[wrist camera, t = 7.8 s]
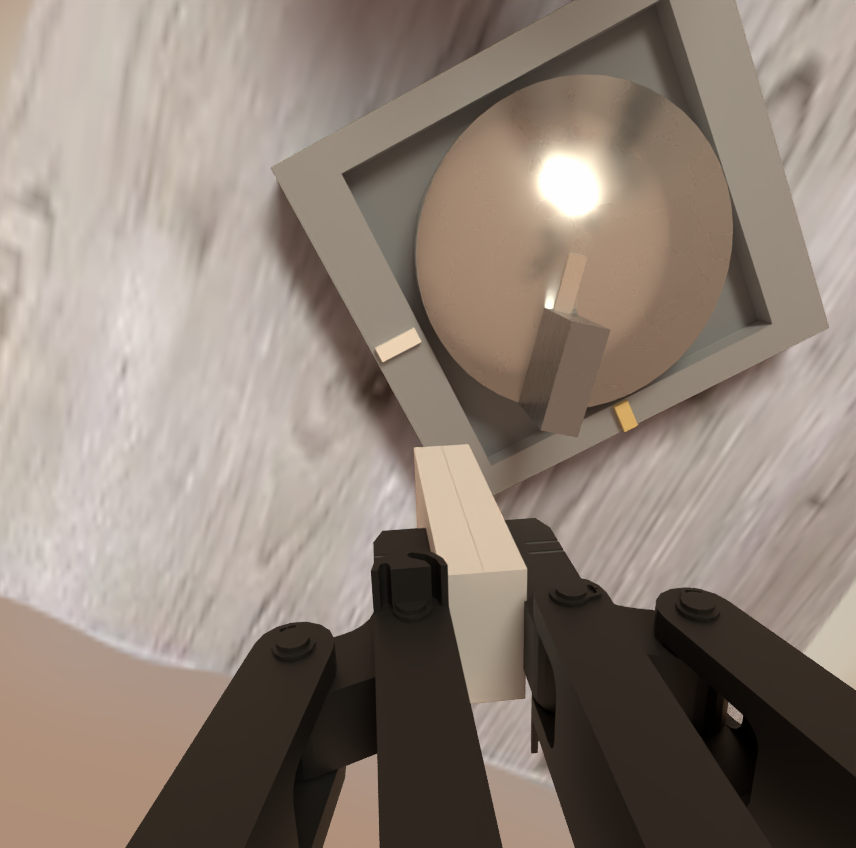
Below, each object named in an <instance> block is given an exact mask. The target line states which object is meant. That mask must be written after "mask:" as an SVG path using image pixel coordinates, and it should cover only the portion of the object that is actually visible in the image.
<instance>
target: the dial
mask: <svg viewBox="0 0 856 848" xmlns="http://www.w3.org/2000/svg"><path fill="white" fill-rule="evenodd" d="M732 238H733V219H732V207H731V200H730V196H729V191H728V186H727V182H726V179H725V176H724V174H723V171H722V168H721V165H720V162H719V161H718V159H717V157H716V155H715V153H714V151H713V149H712V147H711V145H710V143H709V142H708V140H707V139H706V138H705V136H704V135H703V133H702V132H701V131H700V129H699V128H698V126H697V125H696V124H695V123H694V122H693V121H692V120H691V119H690V118H689V117H688V116H687V115H686V114H685V113H684V112H683V111H682V110H681V109H680V108H678V107H677V106H676V105H675V104H673V103H672V102H671V101H669V100H668V99H667V98H665V97H664V96H662V95H660V94H658V93H656V92H655V91H653V90H651V89H649V88H647V87H645V86H642V85H640V84H637V83H634V82H631V81H629V80H626V79H621V78H616V77H611V76H606V75H588V74H581V75H571V76H561V77H557V78H553V79H549V80H545V81H541V82H538V83H535V84H533V85H530V86H528V87H525V88H523V89H521V90H518V91H516V92H514V93H513V94H511V95H509V96H508V97H506V98H504V99H502V100H501V101H499V102H497V103H496V104H495V105H493V106H492V107H491V108H490V109H488V110H487V111H486V112H484V113H483V114H482V115H481V116H479V117H478V118H477V119H476V120H475V121H474V122H473V123H472V124H471V125H470V126H469V127H468V128H467V129H466V130H465V131H464V132H463V133H462V134H461V135H460V136H459V137H458V138H457V139H456V140H455V141H454V143H453V144H452V145H451V147H450V148H449V149H448V151H447V152H446V153H445V155H444V156H443V157H442V159H441V161H440V162H439V164H438V166H437V168H436V169H435V171H434V173H433V175H432V176H431V179H430V181H429V183H428V186H427V188H426V191H425V193H424V196H423V198H422V202H421V206H420V209H419V213H418V217H417V222H416V229H415V236H414V267H415V276H416V282H417V287H418V291H419V295H420V299H421V302H422V304H423V307H424V310H425V312H426V315H427V317H428V319H429V321H430V323H431V325H432V327H433V329H434V330H435V332H436V334H437V336H438V337H439V339H440V341H441V342H442V344H443V345H444V347H445V348H446V349H447V351H448V352H449V353H450V355H451V356H452V357H453V359H454V360H455V361H456V362H457V363H458V364H459V365H460V366H461V367H462V368H463V369H464V370H465V371H466V372H467V373H468V374H469V375H470V376H472V377H473V378H474V379H476V380H477V381H478V382H479V383H481V384H482V385H483V386H485V387H487V388H489V389H490V390H492V391H494V392H495V393H497V394H499V395H501V396H504V397H506V398H508V399H511V400H513V401H516V402H519V403H518V404H519V405H520V406H521V407H522V408H523V410H524V411H525V412H526V413H527V415H528V416H529V417H530V418H531V419H532V421H533V422H534V423H535V424H536V426H537V427H538V428H539V429H540V430H541V431H546V432H551V433H556V434H561V435H567V436H572V437H577V438H578V435H579V432H580V429H581V425H582V422H583V419H584V416H585V412H586V409H587V407H592V406H596V405H600V404H604V403H608V402H611V401H614V400H616V399H619V398H621V397H624V396H626V395H629V394H631V393H633V392H634V391H636V390H638V389H640V388H642V387H644V386H646V385H647V384H649V383H650V382H651V381H653V380H654V379H656V378H657V377H659V376H660V375H661V374H663V373H664V372H665V371H666V370H667V369H669V368H670V367H671V366H672V365H673V364H674V363H675V362H676V361H678V360H679V359H680V357H681V356H682V355H683V354H684V353H685V352H686V351H687V350H688V349H689V347H690V346H691V345H692V344H693V343H694V341H695V340H696V338H697V337H698V336H699V334H700V333H701V331H702V330H703V329H704V327H705V325H706V323H707V322H708V320H709V318H710V316H711V314H712V313H713V311H714V309H715V307H716V304H717V302H718V299H719V297H720V295H721V292H722V290H723V287H724V283H725V280H726V276H727V273H728V269H729V263H730V257H731V251H732Z"/></svg>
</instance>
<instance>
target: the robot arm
mask: <svg viewBox="0 0 856 848" xmlns="http://www.w3.org/2000/svg"><path fill="white" fill-rule="evenodd" d="M414 466H415V489H416V512H417V528H415V529H402V530H388V531H382V532H381V533H380V535H379V536H378V537H377V539H376V540H375V541H374V542H373V544H374V564H373V567H372V570H371V579H372V594H373V608H374V612H373V614H372V616H371V617H370V619H369V620H368V621H367V622H366V623H365V624H363V625H362V626H360V627H359V628H357V629H355V630H354V631H351V632H348V633H346V634H343V635H340V636H337V637H333V636H332V634H331V632H330V630H328V629H327V628H325V627H323V626H322V625H320V624H315V623H310V622H296V623H289V624H286V625H282V626H279V627H276V628H274V629H272V630H271V631H269V632H267V633H265V634H264V635H263V636H262V637H261V638H260V639H259V640H258V641H257V642H256V643H255V644H254V646H253V647H252V649H251V651H250V652H249V654H248V655H247V657H246V658H245V660H244V662H243V663H242V665H241V666H240V668H239V669H238V671H237V673H236V674H235V676H234V677H233V679H232V681H231V682H230V684H229V685H228V687H227V689H226V690H225V692H224V693H223V695H222V696H221V698H220V700H219V701H218V703H217V704H216V706H215V707H214V709H213V710H212V712H211V714H210V715H209V717H208V718H207V720H206V722H205V723H204V725H203V726H202V728H201V729H200V731H199V733H198V734H197V736H196V737H195V739H194V740H193V742H192V744H191V745H190V747H189V748H188V750H187V751H186V753H185V755H184V756H183V758H182V759H181V761H180V762H179V764H178V766H177V767H176V769H175V770H174V772H173V774H172V775H171V777H170V778H169V780H168V781H167V783H166V785H165V786H164V788H163V789H162V791H161V792H160V794H159V796H158V797H157V799H156V800H155V802H154V803H153V805H152V807H151V808H150V810H149V811H148V813H147V815H146V816H145V818H144V819H143V821H142V822H141V824H140V826H139V827H138V829H137V830H136V832H135V833H134V835H133V837H132V838H131V840H130V842H129V843H128V845H127V846H126V848H323V844H324V841H325V838H326V835H327V832H328V829H329V826H330V822H331V819H332V816H333V813H334V810H335V807H336V804H337V801H338V798H339V795H340V792H341V788H342V785H343V782H344V779H345V771H346V765H349V764H352V763H354V762H357V761H359V760H362V759H364V758H367V757H369V756H372V755H374V754H377V760H378V798H379V838H380V839H379V841H380V848H502V843H501V838H500V834H499V829H498V825H497V820H496V816H495V811H494V808H493V803H492V798H491V794H490V789H489V784H488V780H487V776H486V771H485V766H484V762H483V757H482V753H481V748H480V744H479V739H478V735H477V730H476V726H475V722H474V717H473V713H472V708H471V704H473V703H484V702H494V701H504V700H515V699H525V679H526V677H527V680H528V683H529V686H530V689H531V691H532V708H531V753H538V741H540V744H541V747H542V750H543V753H544V756H545V759H546V762H547V765H548V768H549V771H550V774H551V777H552V780H553V783H554V786H555V789H556V792H557V795H558V798H559V801H560V804H561V807H562V810H563V813H564V816H565V819H566V822H567V825H568V828H569V831H570V834H571V837H572V840H573V843H574V846H575V848H856V690H854V689H853V688H851V687H850V686H849V685H847V684H846V683H844V682H843V681H841V680H840V679H839V678H837V677H836V676H834V675H833V674H832V673H830V672H829V671H827V670H826V669H824V668H823V667H822V666H820V665H819V664H817V663H816V662H814V661H813V660H812V659H810V658H809V657H807V656H806V655H804V654H803V653H802V652H800V651H799V650H797V649H796V648H795V647H793V646H792V645H790V644H789V643H787V642H786V641H785V640H783V639H782V638H780V637H779V636H777V635H776V634H775V633H773V632H772V631H770V630H769V629H767V628H766V627H765V626H763V625H762V624H760V623H759V622H757V621H756V620H755V619H753V618H752V617H750V616H749V615H748V614H746V613H745V612H743V611H742V610H740V609H739V608H738V607H736V606H735V605H733V604H732V603H730V602H729V601H727V600H726V599H724V598H722V597H720V596H718V595H716V594H714V593H711V592H707V591H704V590H702V589H697V588H676V589H670V590H668V591H665V592H663V593H661V594H660V595H659V597H658V598H657V600H656V607H655V610H646V609H637V608H629V607H624V606H618V605H615V604H614V603H613V602H612V600H611V599H610V597H609V595H608V594H607V593H606V592H605V591H604V590H603V589H602V588H601V587H600V586H599V585H597V584H595V583H593V582H591V581H589V580H586V579H582V578H580V576H579V574H578V573H577V571H576V569H575V568H574V566H573V565H572V563H571V561H570V560H569V558H568V556H567V555H566V553H565V551H563V548H562V546H561V545H560V543H559V542H557V538H556V537H555V535H554V533H553V532H552V530H551V528H550V527H548V526H547V525H545V524H544V523H542V522H540V521H539V520H537V519H536V518H529V519H515V520H504V519H503V516H502V514H501V512H500V510H499V508H498V506H497V504H496V501H495V499H494V497H493V495H492V493H491V491H490V489H489V487H488V484H487V482H486V480H485V478H484V476H483V474H482V472H481V469H480V467H479V465H478V463H477V461H476V459H475V457H474V455H473V452H472V450H471V448H470V446H469V444H463V445H447V446H431V447H416V448H414ZM728 702H729V703H730V704H731V705H733V706H734V707H735V708H736V709H737V710H738V711H739V712H740V713H742V715H743V721H742V724H740V723H738V722H737V721H735V720H734V719H733V718H732V717H731V716H730V715H729V714H728V713H727V708H728Z"/></svg>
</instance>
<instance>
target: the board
mask: <svg viewBox="0 0 856 848" xmlns="http://www.w3.org/2000/svg"><path fill="white" fill-rule="evenodd" d="M581 74H588V75H606V76H611V77H616V78H621V79H626V80H629V81H631V82H634V83H637V84H640V85H642V86H645V87H647V88H649V89H651V90H653V91H655V92H656V93H658V94H660V95H662V96H664V97H665V98H667V99H668V100H669V101H671V102H672V103H673V104H675V105H676V106H677V107H678V108H680V109H681V110H682V111H683V112H684V113H685V114H686V115H687V116H688V117H689V118H690V119H691V120H692V121H693V122H694V123H695V124H696V125H697V126H698V128H699V129H700V131H701V132H702V133H703V135H704V136H705V138H706V139H707V140H708V142H709V143H710V145H711V147H712V149H713V151H714V153H715V155H716V157H717V159H718V161H719V162H720V165H721V168H722V171H723V174H724V176H725V179H726V182H727V186H728V191H729V196H730V200H731V207H732V219H733V238H732V251H731V257H730V263H729V269H728V273H727V276H726V280H725V283H724V287H723V290H722V292H721V295H720V297H719V299H718V302H717V304H716V307H715V309H714V311H713V313H712V314H711V316H710V318H709V320H708V322H707V323H706V325H705V327H704V329H703V330H702V331H701V333H700V334H699V336H698V337H697V338H696V340H695V341H694V343H693V344H692V345H691V346H690V347H689V349H688V350H687V351H686V352H685V353H684V354H683V355H682V356H681V357H680V359H679V360H678V361H676V362H675V363H674V364H673V365H672V366H671V367H670V368H669V369H667V370H666V371H665V372H664V373H663V374H661V375H660V376H659V377H657V378H656V379H654V380H653V381H651V382H650V383H649V384H647V385H646V386H644V387H642V388H640V389H638V390H636V391H634V392H633V393H631V394H629V395H626V396H624V397H621V398H619V399H616V400H614V401H611V402H608V403H604V404H600V405H596V406H592V407H587V409H586V412H585V416H584V419H583V422H582V425H581V429H580V432H579V435H578V438H577V437H572V436H567V435H561V434H556V433H551V432H546V431H541V430H540V429H539V428H538V427H537V426H536V424H535V423H534V422H533V421H532V419H531V418H530V417H529V416H528V415H527V413H526V412H525V411H524V410H523V408H522V407H521V406H520V405H519V404H518V403H519V402H516V401H513V400H511V399H508V398H506V397H504V396H501V395H499V394H497V393H495V392H494V391H492V390H490V389H489V388H487V387H485V386H483V385H482V384H481V383H479V382H478V381H477V380H476V379H474V378H473V377H472V376H470V375H469V374H468V373H467V372H466V371H465V370H464V369H463V368H462V367H461V366H460V365H459V364H458V363H457V362H456V361H455V360H454V359H453V357H452V356H451V355H450V353H449V352H448V351H447V349H446V348H445V347H444V345H443V344H442V342H441V341H440V339H439V337H438V336H437V334H436V332H435V330H434V329H433V327H432V325H431V323H430V321H429V319H428V317H427V315H426V312H425V310H424V307H423V304H422V302H421V299H420V295H419V291H418V287H417V282H416V276H415V267H414V236H415V229H416V222H417V217H418V213H419V209H420V206H421V202H422V198H423V196H424V193H425V191H426V188H427V186H428V183H429V181H430V179H431V176H432V175H433V173H434V171H435V169H436V168H437V166H438V164H439V162H440V161H441V159H442V157H443V156H444V155H445V153H446V152H447V151H448V149H449V148H450V147H451V145H452V144H453V143H454V141H455V140H456V139H457V138H458V137H459V136H460V135H461V134H462V133H463V132H464V131H465V130H466V129H467V128H468V127H469V126H470V125H471V124H472V123H473V122H474V121H475V120H476V119H477V118H478V117H479V116H481V115H482V114H483V113H484V112H486V111H487V110H488V109H490V108H491V107H492V106H493V105H495V104H496V103H497V102H499V101H501V100H502V99H504V98H506V97H508V96H509V95H511V94H513V93H514V92H516V91H518V90H521V89H523V88H525V87H528V86H530V85H533V84H535V83H538V82H541V81H545V80H549V79H553V78H557V77H561V76H571V75H581ZM271 170H272V172H273V173H274V175H275V177H276V179H277V181H278V183H279V184H280V186H281V188H282V190H283V192H284V194H285V195H286V197H287V199H288V201H289V203H290V204H291V206H292V208H293V210H294V212H295V214H296V215H297V217H298V219H299V221H300V223H301V225H302V226H303V228H304V230H305V232H306V234H307V235H308V237H309V239H310V241H311V243H312V245H313V246H314V248H315V250H316V252H317V254H318V256H319V257H320V259H321V261H322V263H323V265H324V266H325V268H326V270H327V272H328V274H329V276H330V277H331V279H332V281H333V283H334V285H335V287H336V288H337V290H338V292H339V294H340V296H341V297H342V299H343V301H344V303H345V305H346V307H347V308H348V310H349V312H350V314H351V316H352V318H353V319H354V321H355V323H356V325H357V327H358V328H359V330H360V332H361V334H362V336H363V338H364V339H365V341H366V343H367V345H368V347H369V348H370V350H371V352H372V354H373V356H374V358H375V359H376V361H377V363H378V365H379V367H380V369H381V370H382V372H383V374H384V376H385V378H386V379H387V381H388V383H389V385H390V387H391V389H392V390H393V392H394V394H395V396H396V398H397V400H398V401H399V403H400V405H401V407H402V409H403V410H404V412H405V414H406V416H407V418H408V420H409V421H410V423H411V425H412V427H413V429H414V431H415V432H416V434H417V436H418V438H419V440H420V441H421V443H422V445H423V447H431V446H447V445H463V444H469V446H470V448H471V450H472V452H473V455H474V457H475V459H476V461H477V463H478V465H479V467H480V469H481V472H482V474H483V476H484V478H485V480H486V482H487V484H488V487H489V489H490V491H491V493H492V495H493V496H494V495H496V494H498V493H500V492H502V491H504V490H506V489H508V488H510V487H512V486H514V485H516V484H518V483H520V482H522V481H524V480H526V479H528V478H530V477H532V476H534V475H536V474H538V473H540V472H542V471H544V470H546V469H548V468H550V467H552V466H554V465H556V464H558V463H560V462H562V461H564V460H566V459H568V458H570V457H572V456H574V455H576V454H578V453H580V452H582V451H584V450H586V449H588V448H590V447H592V446H594V445H596V444H598V443H600V442H602V441H604V440H606V439H608V438H610V437H612V436H614V435H616V434H618V433H620V432H622V431H624V432H626V431H628V430H630V429H632V428H634V427H636V426H638V423H640V422H642V421H644V420H646V419H648V418H650V417H652V416H654V415H656V414H658V413H660V412H662V411H664V410H666V409H668V408H670V407H672V406H674V405H676V404H678V403H680V402H682V401H684V400H686V399H688V398H690V397H692V396H694V395H696V394H698V393H700V392H702V391H704V390H706V389H708V388H710V387H712V386H714V385H716V384H718V383H720V382H722V381H724V380H726V379H728V378H730V377H732V376H734V375H736V374H738V373H740V372H742V371H744V370H746V369H748V368H750V367H752V366H754V365H756V364H758V363H760V362H762V361H764V360H766V359H768V358H770V357H772V356H774V355H776V354H778V353H780V352H782V351H784V350H786V349H788V348H790V347H792V346H794V345H796V344H798V343H800V342H802V341H804V340H806V339H808V338H810V337H812V336H814V335H816V334H818V333H820V332H822V331H824V330H826V329H828V328H829V325H828V322H827V318H826V315H825V311H824V308H823V304H822V301H821V297H820V294H819V290H818V287H817V283H816V280H815V277H814V273H813V270H812V266H811V263H810V259H809V256H808V252H807V249H806V245H805V242H804V238H803V235H802V231H801V228H800V224H799V221H798V217H797V214H796V210H795V207H794V203H793V200H792V196H791V193H790V189H789V186H788V182H787V179H786V175H785V172H784V168H783V165H782V162H781V158H780V155H779V151H778V148H777V144H776V141H775V137H774V134H773V130H772V127H771V123H770V120H769V116H768V113H767V109H766V106H765V102H764V99H763V95H762V92H761V88H760V85H759V81H758V78H757V74H756V71H755V67H754V64H753V60H752V57H751V53H750V50H749V47H748V43H747V40H746V36H745V33H744V29H743V26H742V22H741V19H740V15H739V12H738V8H737V5H736V1H735V0H574V1H572V2H570V3H568V4H567V5H565V6H563V7H561V8H559V9H558V10H556V11H554V12H552V13H550V14H548V15H547V16H545V17H543V18H541V19H539V20H538V21H536V22H534V23H532V24H530V25H528V26H527V27H525V28H523V29H521V30H519V31H518V32H516V33H514V34H512V35H510V36H509V37H507V38H505V39H503V40H501V41H499V42H498V43H496V44H494V45H492V46H490V47H489V48H487V49H485V50H483V51H481V52H479V53H478V54H476V55H474V56H472V57H470V58H469V59H467V60H465V61H463V62H461V63H460V64H458V65H456V66H454V67H452V68H450V69H449V70H447V71H445V72H443V73H441V74H440V75H438V76H436V77H434V78H432V79H430V80H429V81H427V82H425V83H423V84H421V85H420V86H418V87H416V88H414V89H412V90H411V91H409V92H407V93H405V94H403V95H401V96H400V97H398V98H396V99H394V100H392V101H391V102H389V103H387V104H385V105H383V106H381V107H380V108H378V109H376V110H374V111H372V112H371V113H369V114H367V115H365V116H363V117H361V118H360V119H358V120H356V121H354V122H352V123H351V124H349V125H347V126H345V127H343V128H342V129H340V130H338V131H336V132H334V133H332V134H331V135H329V136H327V137H325V138H323V139H322V140H320V141H318V142H316V143H314V144H312V145H311V146H309V147H307V148H305V149H303V150H302V151H300V152H298V153H296V154H294V155H293V156H291V157H289V158H287V159H285V160H283V161H282V162H280V163H278V164H276V165H274V166H273V167H271Z"/></svg>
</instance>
